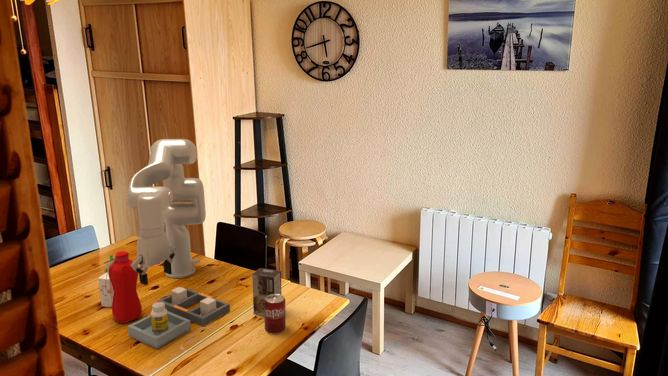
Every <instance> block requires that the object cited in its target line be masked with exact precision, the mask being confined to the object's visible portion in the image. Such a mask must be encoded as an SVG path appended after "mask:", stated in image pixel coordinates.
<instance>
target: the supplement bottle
mask: <svg viewBox="0 0 668 376" xmlns="http://www.w3.org/2000/svg"><path fill="white" fill-rule="evenodd" d="M151 308H152V310H151V312H150V315H151V322H152V332H153V333H155V334H162V333H164V332H166V331H167V330H168V312H167V310H166V309H165V304H164V303H163V302H158V301H157V302H154V303H152V307H151Z"/></svg>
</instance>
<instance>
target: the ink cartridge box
mask: <svg viewBox="0 0 668 376" xmlns="http://www.w3.org/2000/svg"><path fill="white" fill-rule="evenodd" d="M106 275H107V278H106ZM97 279H98V280H97V281H98V286H99V287H98V288H99V295H100V297H99V298H100V302H101V307H107V308H112V302H113V296H114V290H113V287H112V283H110V278H109V271H108V274H107V273H105V272H104V274H101V275H100V276H99V277H98V278H97ZM105 282H106V287H105ZM110 288H111V289H110ZM106 289H107V290H110V291H107V290H106Z"/></svg>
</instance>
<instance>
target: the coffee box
mask: <svg viewBox="0 0 668 376" xmlns="http://www.w3.org/2000/svg"><path fill="white" fill-rule="evenodd" d="M251 278H252V280H251V282H252V304H253V315H257V316H263V317H264V299H265V298H266V296H268V295H271V294H280V295H282V271H281V270H278V269H277V270H276V269H270V268H262V267H259V268H258V269H256V271H254V273H252V274H251Z"/></svg>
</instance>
